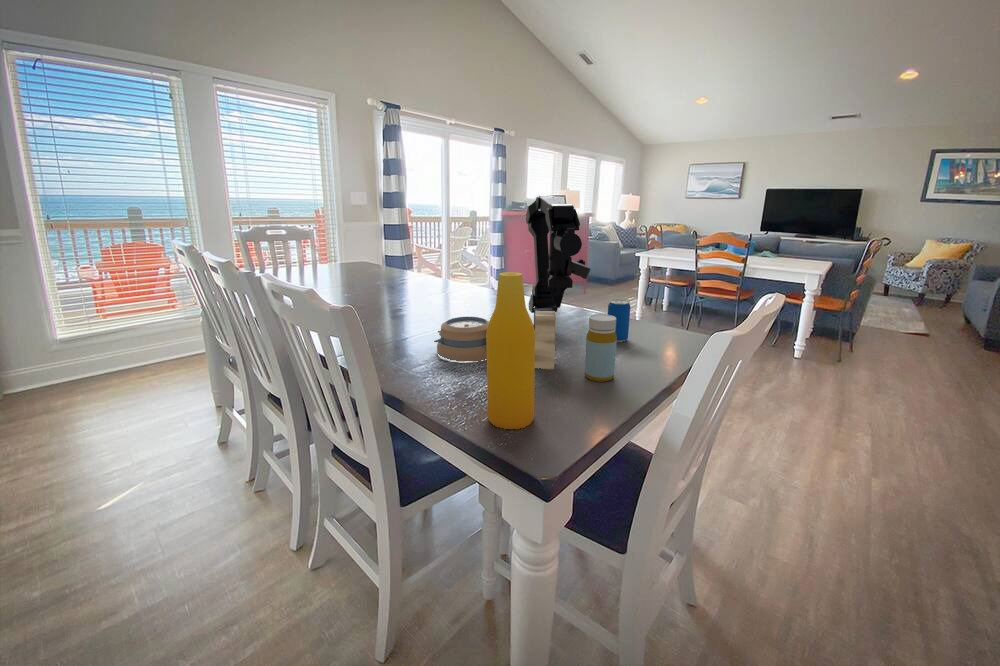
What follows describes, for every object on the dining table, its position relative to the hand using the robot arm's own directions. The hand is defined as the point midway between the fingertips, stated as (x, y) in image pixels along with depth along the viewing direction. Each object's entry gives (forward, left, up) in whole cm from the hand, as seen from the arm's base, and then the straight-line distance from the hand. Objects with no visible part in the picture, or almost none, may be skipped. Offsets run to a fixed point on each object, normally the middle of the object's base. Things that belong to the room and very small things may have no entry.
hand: (558, 306), depth 126 cm
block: (+12, -10, -12) cm, 20 cm away
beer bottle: (+36, -29, -12) cm, 48 cm away
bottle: (+24, -1, -12) cm, 27 cm away
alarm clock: (-4, -23, -12) cm, 26 cm away
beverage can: (+1, +20, -12) cm, 23 cm away
